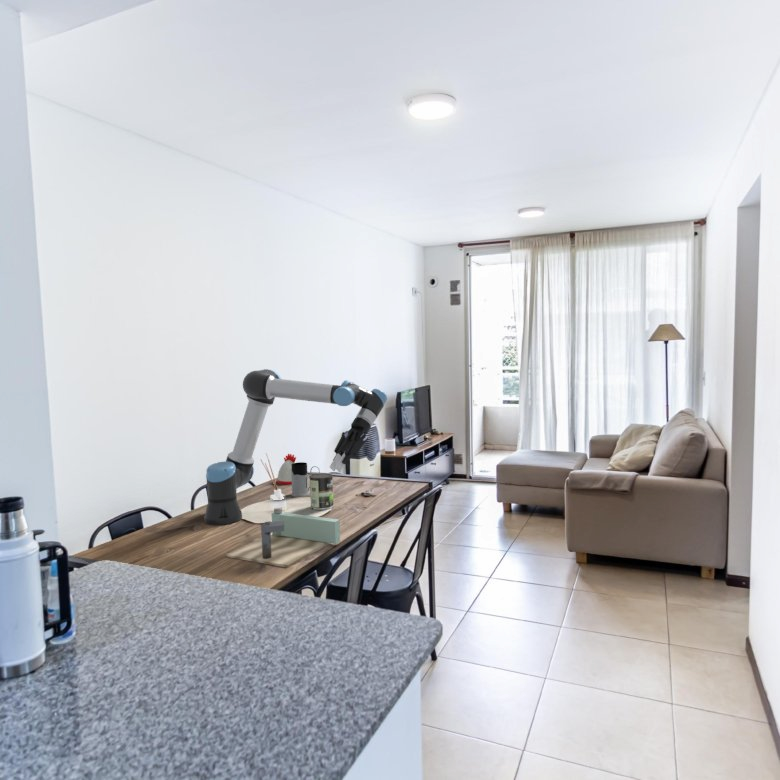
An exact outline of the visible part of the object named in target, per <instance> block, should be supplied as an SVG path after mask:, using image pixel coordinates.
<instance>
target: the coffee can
mask: <svg viewBox="0 0 780 780" xmlns="http://www.w3.org/2000/svg"><path fill="white" fill-rule="evenodd" d="M308 479H309V487H310V488H309V493H310V494H309V495H310V509H312V508H313V509H312V510H315V509H318V510H317V511H319V510H320V511H323V510H324V509H325V510H329V509H333V508H334V506H335V505H334V486H333V484H334V483H333V481H334V480H333V474H332V473H325V472H324V473H323V472H322V473H321V472H320V474H319V473H314V474H311V475H308Z"/></svg>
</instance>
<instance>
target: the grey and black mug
mask: <svg viewBox="0 0 780 780" xmlns="http://www.w3.org/2000/svg"><path fill="white" fill-rule="evenodd" d="M291 466H292V469H291V475H292V484H291V491H292V492H291V496H292V497H295V498H296V497H297V498H298V497H306V496H309V495H310V486H309V476H310V475H312V469H313V468H317V469H318V474H320V473H321V471H320V468H319V467H318V466H317V465H316V466H315V465H313V466H312V467H311V468H310V473H309V474H308V463H307V462H303V461H301V462H297V463H293V464H291Z"/></svg>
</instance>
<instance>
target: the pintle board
mask: <svg viewBox="0 0 780 780" xmlns="http://www.w3.org/2000/svg"><path fill="white" fill-rule="evenodd" d="M273 512H274V513H275V514H279V513H282V512H283V508H282V507H275V508H273ZM329 544H331V543H326V542H319V541H313V540H306V539H299V538H293V537H286V536H273V535H272V532H271V554H272V557H271V558H269V559H263V558H262V537H260V538H258V539H256V540H253V541H251V542H249V543H247V544H245V545H244V546H241V547H238V548H237V549H234V550H232V551H230V552H228V553H225V557H226V558H232V559H236V560H243V561H248V562H253V563H259V564H266V565H271V566H276V567H283V568H290V567H291V566H293V565H296V564H297V563H299V562H301V561H302V560H304V559H305V558H308V557H309V556H311V555H312V554H314V553H316V552H317V551H319V550H321V549H323V548H325V547H326V546H328V545H329Z"/></svg>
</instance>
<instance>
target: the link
mask: <svg viewBox="0 0 780 780" xmlns="http://www.w3.org/2000/svg"><path fill="white" fill-rule="evenodd" d="M277 521H284V525H285V527H284V531H281V532H271V533H272V535H273V536H286V537H293V538H299V539H306V540H313V541H319V542H326V543H330V544H334V545H336V544H339V542H341V529H340V528H341V527H340V526H341V525H340V521H341V520H340V519H336V518H328V517H320V516H313V515H307V514H305V515H304V514H298V513H290V512H289V513H288V512H285V511H282V513H279V514H275V513H274V511H273V512H272V513H271V522H277Z"/></svg>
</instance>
